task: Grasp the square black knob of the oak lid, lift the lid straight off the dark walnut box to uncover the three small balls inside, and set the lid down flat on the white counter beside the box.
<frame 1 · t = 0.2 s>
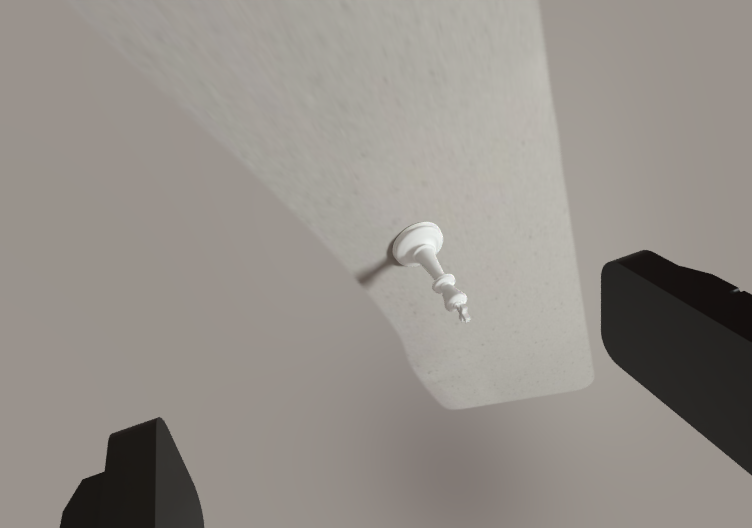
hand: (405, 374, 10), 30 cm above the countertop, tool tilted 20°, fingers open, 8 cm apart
chess piece: (415, 241, 55), on the countertop
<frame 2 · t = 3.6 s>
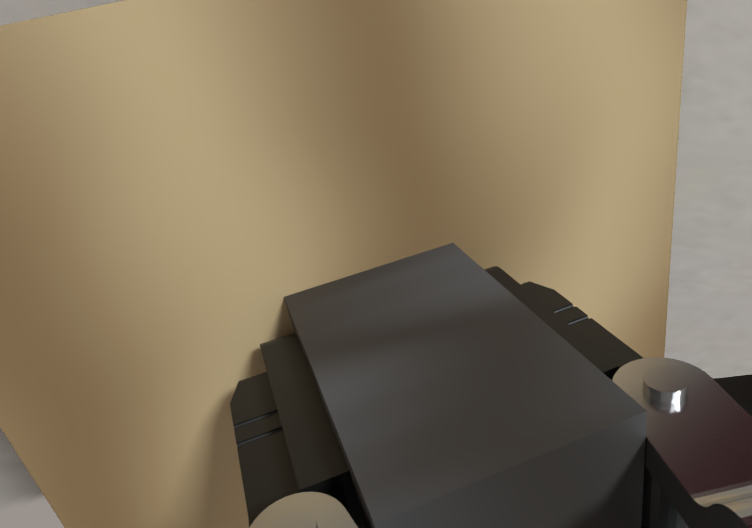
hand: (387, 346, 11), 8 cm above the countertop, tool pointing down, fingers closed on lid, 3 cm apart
lid: (370, 316, 12), point 7 cm above the countertop, touching gripper, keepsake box
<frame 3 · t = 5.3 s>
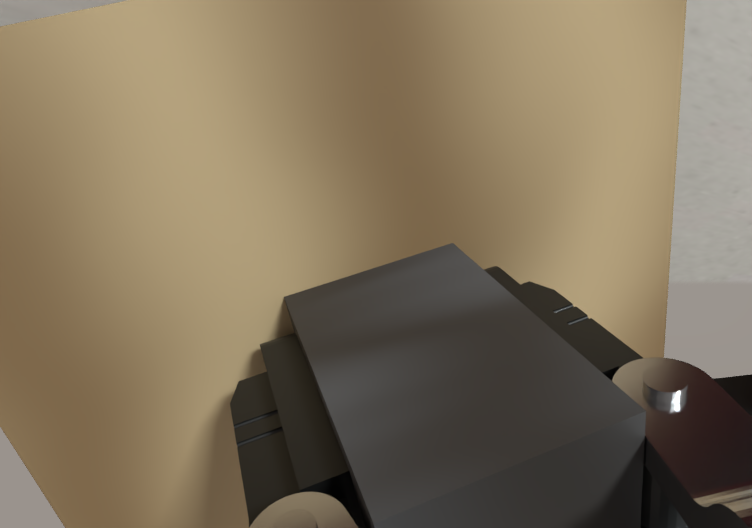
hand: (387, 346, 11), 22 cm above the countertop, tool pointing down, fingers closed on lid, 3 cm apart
lid: (370, 316, 12), point 20 cm above the countertop, touching gripper
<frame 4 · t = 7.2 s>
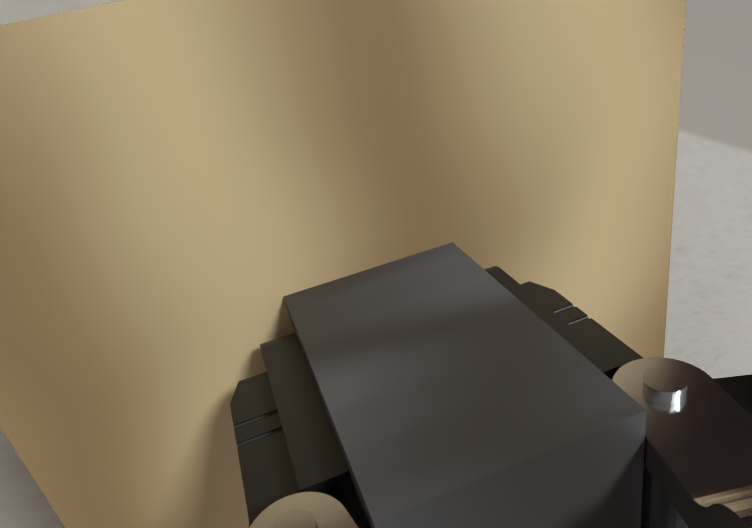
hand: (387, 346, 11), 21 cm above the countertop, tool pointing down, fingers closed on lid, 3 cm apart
lid: (369, 316, 12), point 20 cm above the countertop, touching gripper
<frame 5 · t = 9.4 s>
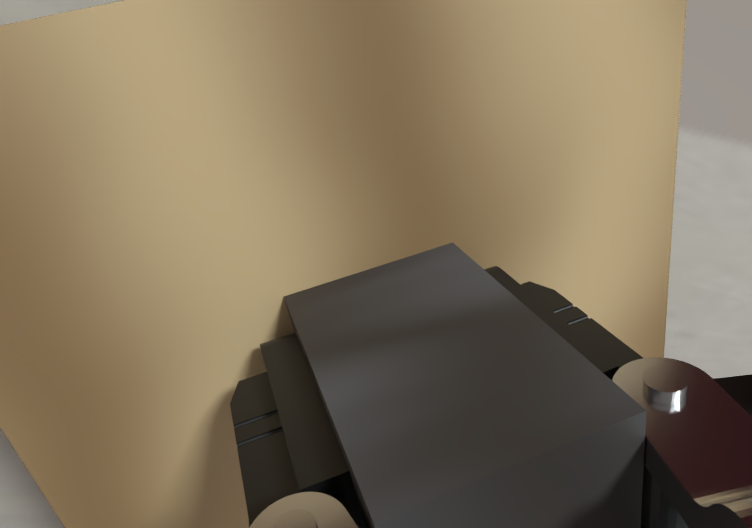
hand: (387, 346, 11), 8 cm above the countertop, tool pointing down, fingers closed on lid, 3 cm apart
lid: (370, 316, 12), point 6 cm above the countertop, touching gripper
when the fingers open (4 cm above the countertop, at t = 11.0 s): lid drops 2 cm, point 1 cm above the countertop.
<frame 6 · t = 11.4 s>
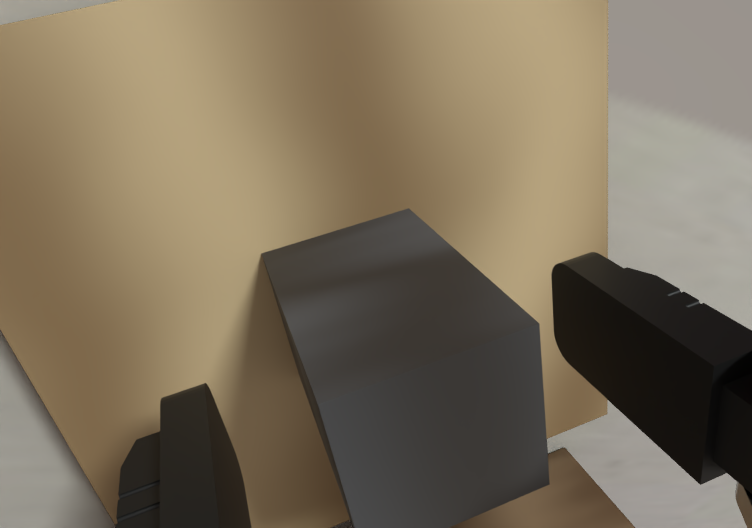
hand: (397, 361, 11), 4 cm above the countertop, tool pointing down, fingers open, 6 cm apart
lid: (340, 276, 14), point 1 cm above the countertop
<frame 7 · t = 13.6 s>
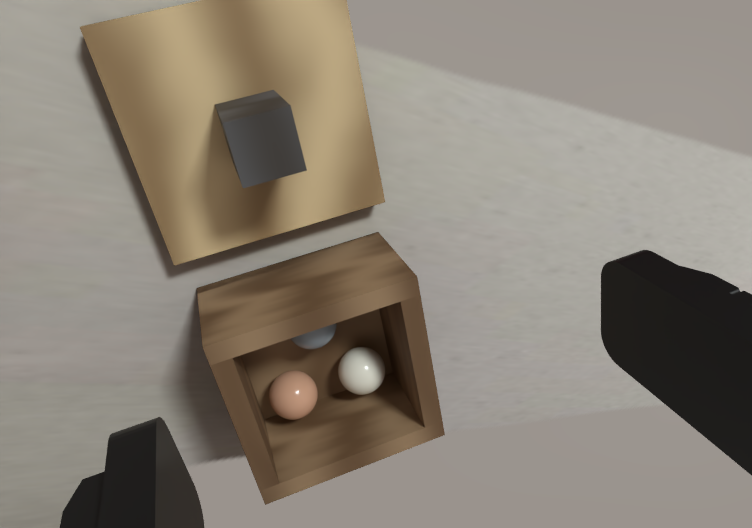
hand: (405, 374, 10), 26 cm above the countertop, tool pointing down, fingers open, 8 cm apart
ball terracotta: (289, 380, 40), point 1 cm above the countertop, touching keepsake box
ball slate: (306, 311, 39), point 1 cm above the countertop, touching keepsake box
ball cream: (355, 357, 41), point 1 cm above the countertop, touching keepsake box
lid: (250, 122, 33), point 1 cm above the countertop
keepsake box: (312, 335, 40), on the countertop
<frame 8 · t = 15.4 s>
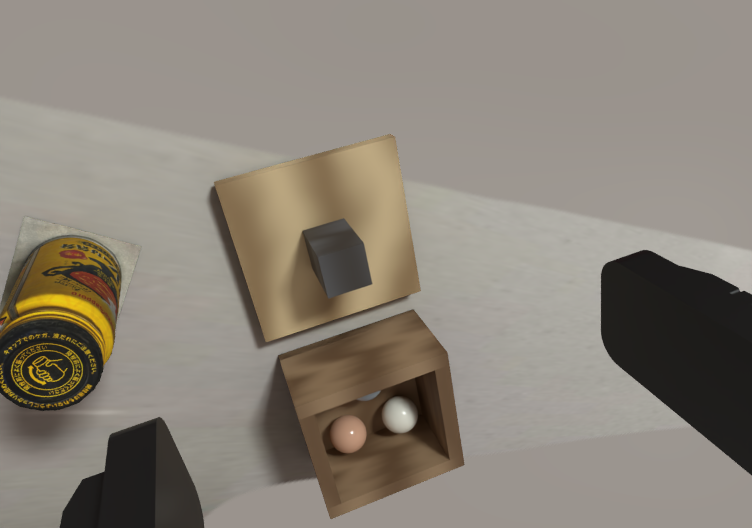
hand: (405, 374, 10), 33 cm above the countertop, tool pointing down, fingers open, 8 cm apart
ball terracotta: (343, 422, 52), point 1 cm above the countertop, touching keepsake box
ball slate: (358, 370, 50), point 1 cm above the countertop, touching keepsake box
ball cream: (393, 403, 53), point 1 cm above the countertop, touching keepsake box
lid: (324, 238, 45), point 1 cm above the countertop
condiment: (69, 284, 41), on the countertop
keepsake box: (360, 386, 52), on the countertop
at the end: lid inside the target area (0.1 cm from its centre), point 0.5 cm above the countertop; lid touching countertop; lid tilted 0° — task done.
